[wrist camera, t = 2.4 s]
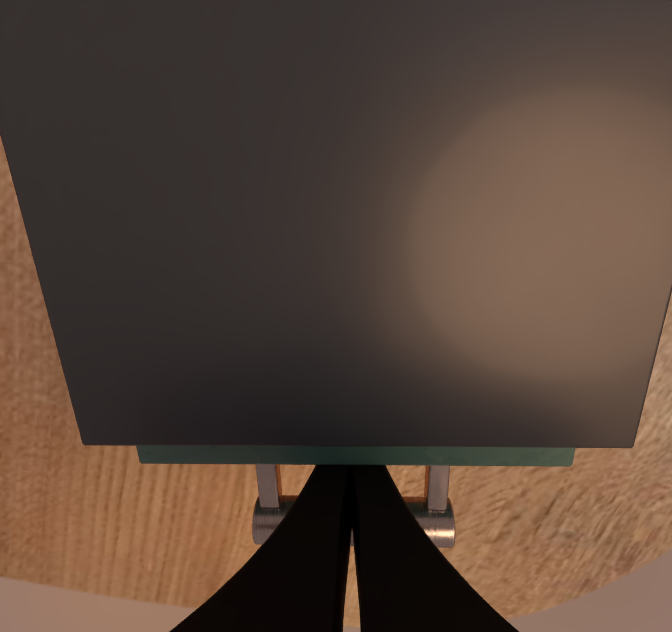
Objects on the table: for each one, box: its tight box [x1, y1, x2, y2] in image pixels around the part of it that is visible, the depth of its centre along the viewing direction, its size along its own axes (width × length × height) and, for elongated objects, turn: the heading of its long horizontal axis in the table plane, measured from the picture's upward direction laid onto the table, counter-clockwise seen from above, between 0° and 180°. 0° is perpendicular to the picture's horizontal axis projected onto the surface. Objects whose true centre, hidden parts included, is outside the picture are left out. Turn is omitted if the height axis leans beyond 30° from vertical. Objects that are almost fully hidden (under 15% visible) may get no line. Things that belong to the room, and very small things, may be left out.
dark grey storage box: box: [0, 0, 672, 448], centre depth 10 cm, size 14×12×7 cm
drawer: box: [136, 446, 575, 548], centre depth 11 cm, size 17×10×5 cm, turn 1°
